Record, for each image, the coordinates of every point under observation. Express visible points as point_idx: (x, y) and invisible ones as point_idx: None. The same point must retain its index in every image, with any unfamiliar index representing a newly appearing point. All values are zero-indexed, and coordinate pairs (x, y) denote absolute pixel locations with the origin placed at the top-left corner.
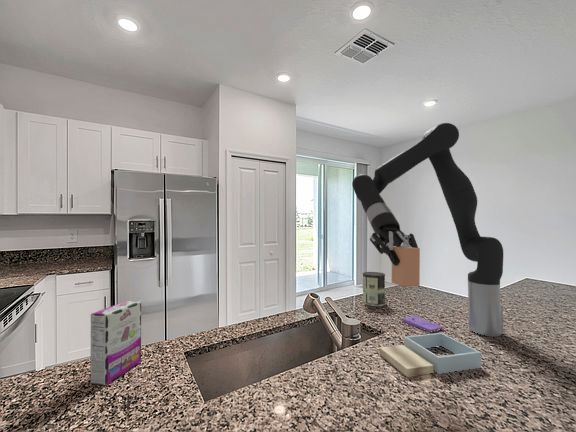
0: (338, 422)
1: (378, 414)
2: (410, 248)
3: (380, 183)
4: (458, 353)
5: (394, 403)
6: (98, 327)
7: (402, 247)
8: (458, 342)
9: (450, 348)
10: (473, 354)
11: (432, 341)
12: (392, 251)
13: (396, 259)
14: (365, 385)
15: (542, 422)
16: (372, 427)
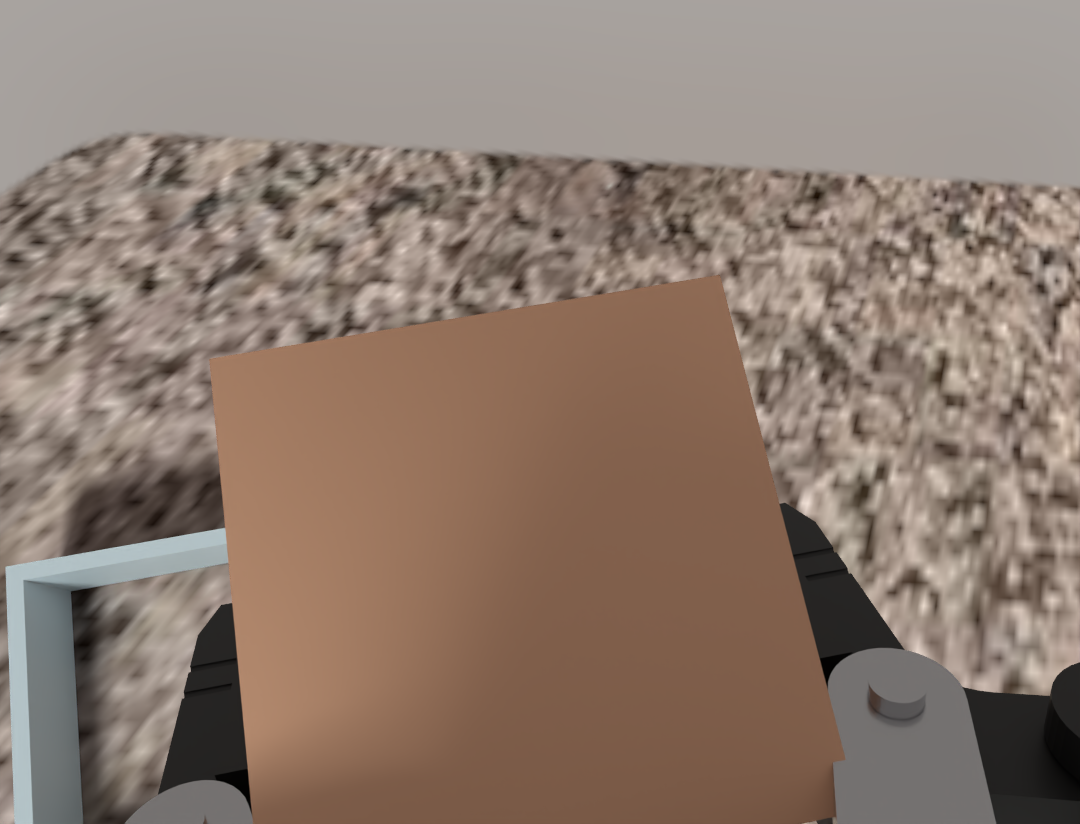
0: (1007, 206)
1: (836, 237)
2: (504, 311)
3: None
4: (69, 742)
5: (742, 297)
6: None
7: (616, 552)
8: (31, 743)
9: (71, 820)
10: (77, 555)
11: None
12: (845, 655)
13: None
14: (841, 436)
15: (186, 158)
16: (880, 175)
